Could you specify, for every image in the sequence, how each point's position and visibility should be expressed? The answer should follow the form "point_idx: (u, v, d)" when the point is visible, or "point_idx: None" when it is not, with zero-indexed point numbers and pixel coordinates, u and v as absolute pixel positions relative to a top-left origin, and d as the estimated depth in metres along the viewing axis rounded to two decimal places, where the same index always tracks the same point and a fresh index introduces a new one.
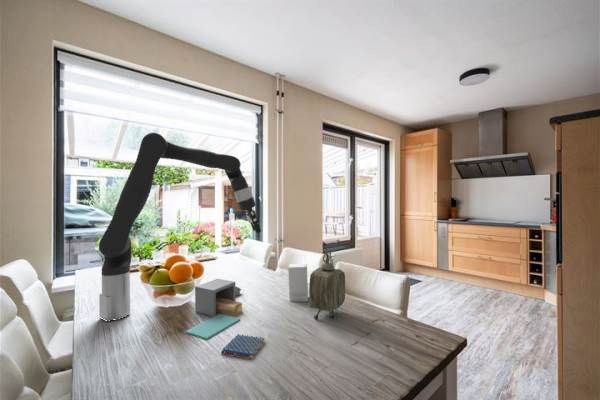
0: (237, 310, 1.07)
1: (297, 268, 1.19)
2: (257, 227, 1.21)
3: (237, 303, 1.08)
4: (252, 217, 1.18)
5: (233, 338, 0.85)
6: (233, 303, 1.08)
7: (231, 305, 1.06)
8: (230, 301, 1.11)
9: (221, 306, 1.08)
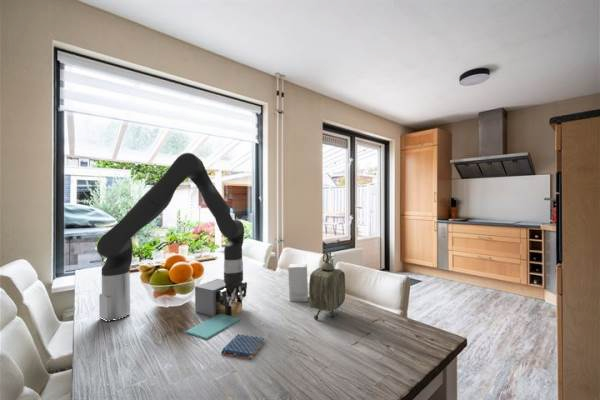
0: (236, 310, 1.07)
1: (297, 268, 1.19)
2: (226, 309, 1.04)
3: (237, 303, 1.08)
4: (220, 298, 1.03)
5: (233, 338, 0.85)
6: (233, 303, 1.08)
7: None
8: None
9: (221, 306, 1.08)
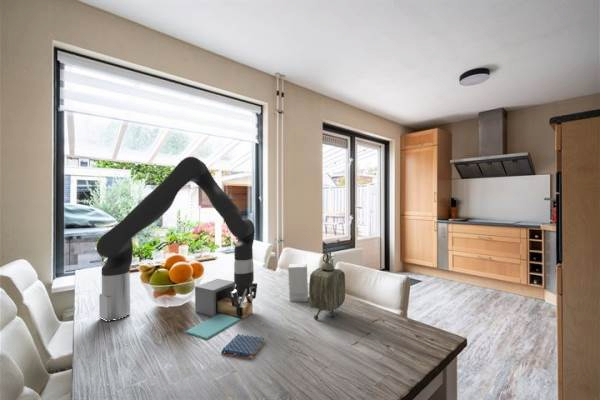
0: (247, 311, 1.04)
1: (297, 268, 1.19)
2: (238, 310, 1.02)
3: (247, 304, 1.06)
4: (231, 299, 1.01)
5: (233, 338, 0.85)
6: (244, 304, 1.06)
7: None
8: None
9: (231, 307, 1.06)
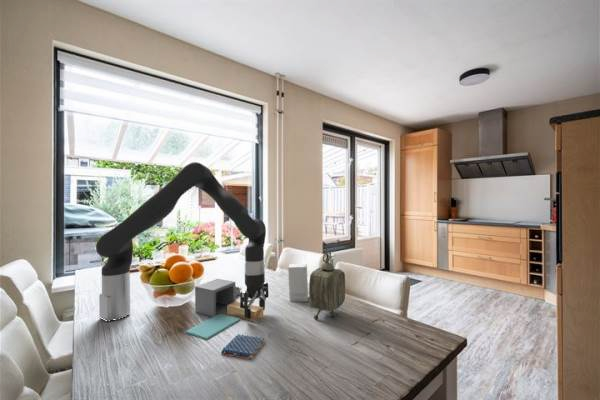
0: (258, 315, 1.02)
1: (297, 268, 1.19)
2: (246, 312, 0.98)
3: (258, 308, 1.03)
4: (241, 299, 0.97)
5: (233, 338, 0.85)
6: (254, 308, 1.03)
7: (252, 310, 1.01)
8: (251, 306, 1.05)
9: (242, 311, 1.03)
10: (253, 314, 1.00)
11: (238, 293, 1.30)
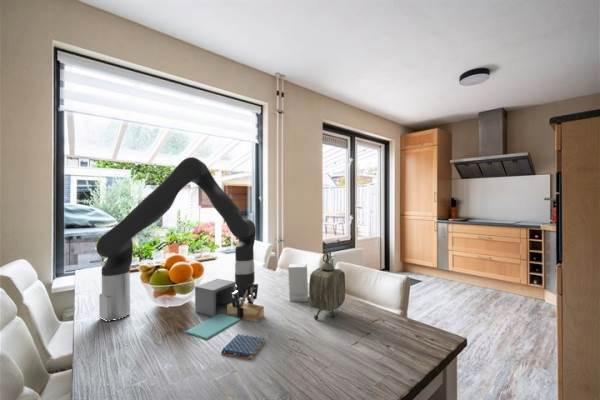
0: (259, 314, 1.02)
1: (297, 268, 1.19)
2: (238, 311, 1.02)
3: (259, 307, 1.03)
4: (232, 300, 1.00)
5: (233, 338, 0.85)
6: (255, 307, 1.03)
7: (253, 309, 1.01)
8: (251, 305, 1.06)
9: None
10: (254, 313, 1.00)
11: None
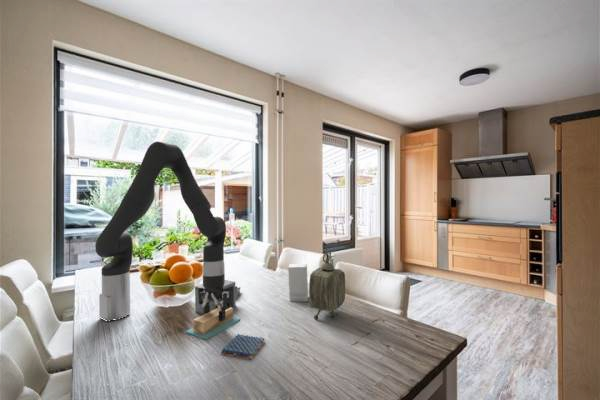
0: None
1: (297, 268, 1.19)
2: (223, 314, 0.94)
3: None
4: (226, 301, 0.93)
5: (234, 338, 0.85)
6: None
7: (227, 309, 1.00)
8: (215, 310, 0.99)
9: None
10: (231, 311, 1.01)
11: (238, 292, 1.31)
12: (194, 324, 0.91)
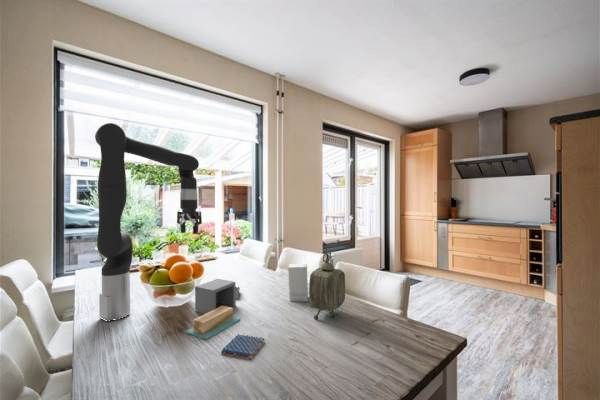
0: None
1: (297, 268, 1.19)
2: (196, 228, 1.24)
3: (224, 307, 1.02)
4: (198, 217, 1.23)
5: (234, 338, 0.85)
6: (223, 308, 1.01)
7: (227, 309, 1.00)
8: (215, 310, 0.99)
9: (220, 316, 0.96)
10: (231, 311, 1.01)
11: None
12: (194, 324, 0.91)
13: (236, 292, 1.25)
